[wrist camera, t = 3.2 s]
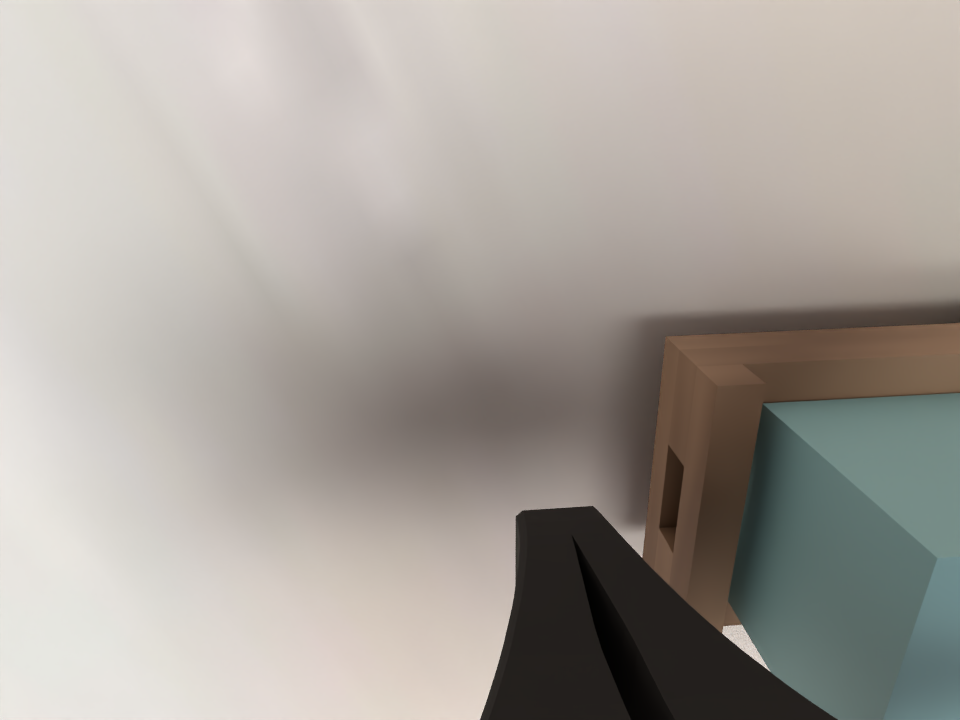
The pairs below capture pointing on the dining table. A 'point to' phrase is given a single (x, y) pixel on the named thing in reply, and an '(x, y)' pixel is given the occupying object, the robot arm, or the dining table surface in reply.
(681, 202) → the dining table surface
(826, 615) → the teal block
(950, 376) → the brown wooden rack
